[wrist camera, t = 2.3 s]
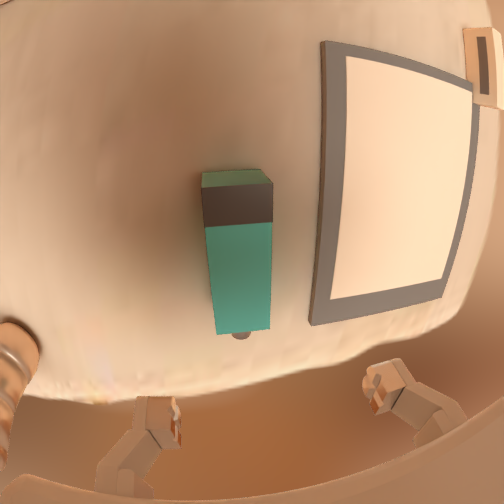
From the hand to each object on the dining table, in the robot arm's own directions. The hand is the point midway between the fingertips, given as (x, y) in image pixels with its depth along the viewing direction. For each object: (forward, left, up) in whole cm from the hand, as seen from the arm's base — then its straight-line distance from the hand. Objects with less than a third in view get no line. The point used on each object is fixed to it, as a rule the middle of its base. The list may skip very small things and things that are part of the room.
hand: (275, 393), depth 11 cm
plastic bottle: (+9, -25, -13) cm, 30 cm away
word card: (-17, +23, -13) cm, 32 cm away
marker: (0, 0, -13) cm, 13 cm away
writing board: (-3, +15, -13) cm, 20 cm away
